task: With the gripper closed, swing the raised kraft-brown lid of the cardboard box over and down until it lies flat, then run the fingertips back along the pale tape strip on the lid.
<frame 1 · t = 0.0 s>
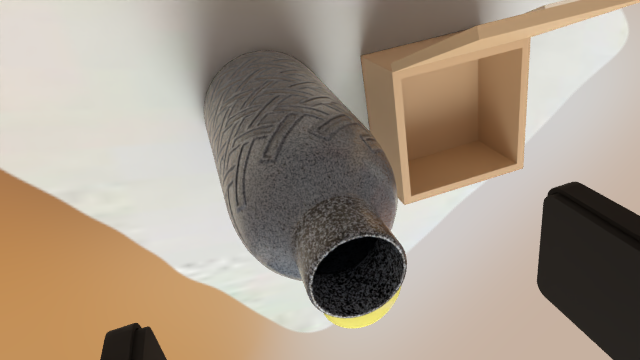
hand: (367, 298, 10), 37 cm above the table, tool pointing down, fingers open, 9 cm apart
lid: (510, 31, 33), point 15 cm above the table, hinge at 110.0°
toy: (326, 223, 54), on the table
box: (425, 102, 50), on the table
vase: (264, 108, 46), on the table
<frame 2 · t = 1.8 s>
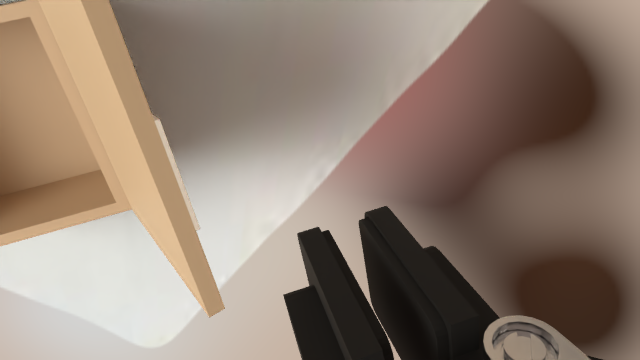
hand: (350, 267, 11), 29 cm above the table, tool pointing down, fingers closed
lid: (125, 140, 23), point 15 cm above the table, hinge at 110.0°
box: (14, 108, 34), on the table
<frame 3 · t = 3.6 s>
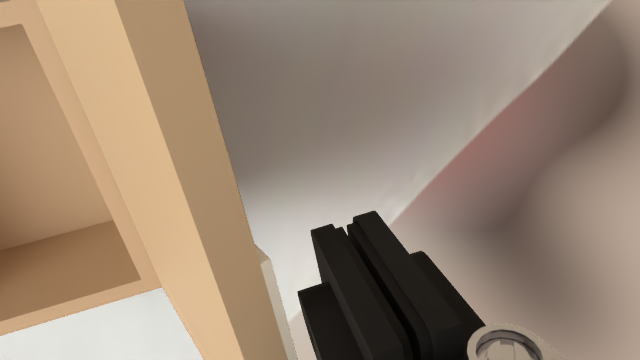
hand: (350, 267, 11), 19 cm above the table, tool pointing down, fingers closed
lid: (168, 227, 14), point 15 cm above the table, hinge at 108.9°, touching gripper
box: (3, 142, 25), on the table
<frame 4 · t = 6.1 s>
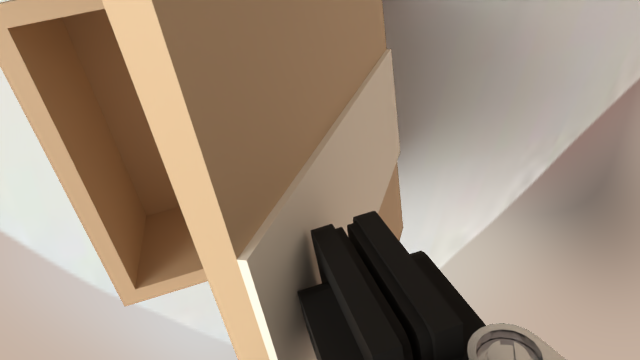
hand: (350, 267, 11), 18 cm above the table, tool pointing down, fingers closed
lid: (344, 180, 15), point 14 cm above the table, hinge at 56.0°, touching gripper
box: (215, 94, 26), on the table
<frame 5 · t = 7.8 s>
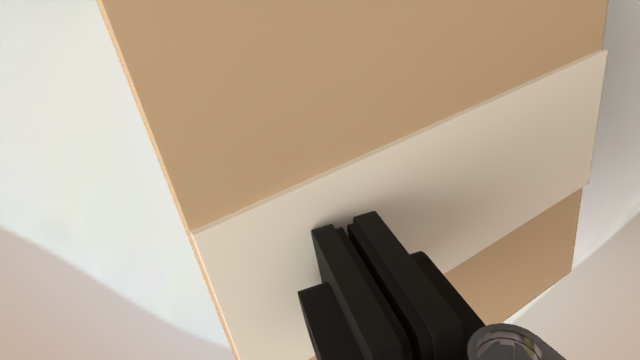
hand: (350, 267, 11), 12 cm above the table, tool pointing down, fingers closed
lid: (439, 194, 13), point 11 cm above the table, hinge at 16.0°, touching gripper
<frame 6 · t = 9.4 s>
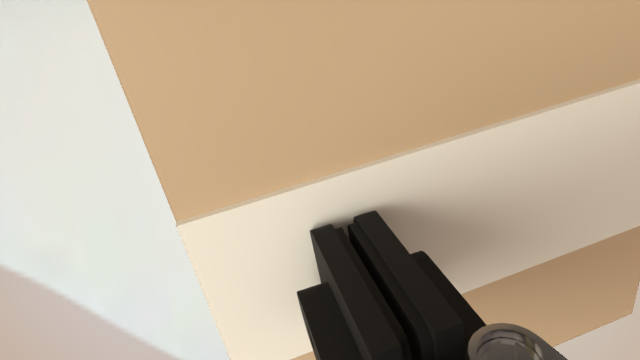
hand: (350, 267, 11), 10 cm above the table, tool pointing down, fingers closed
lid: (458, 212, 12), point 9 cm above the table, hinge at 2.0°, touching gripper
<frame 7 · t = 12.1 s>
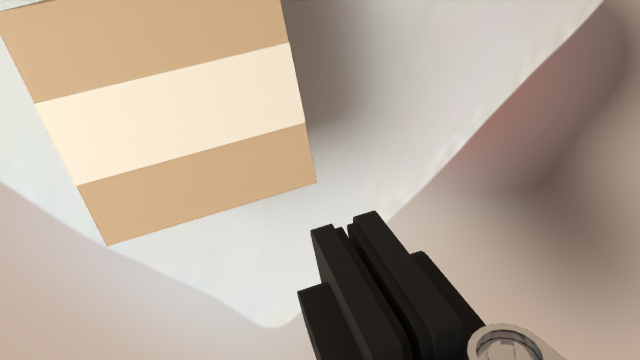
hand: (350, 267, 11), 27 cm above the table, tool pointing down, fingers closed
lid: (182, 111, 26), point 9 cm above the table, hinge at 0.9°
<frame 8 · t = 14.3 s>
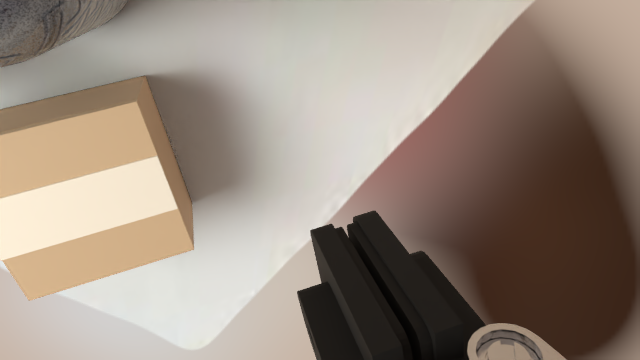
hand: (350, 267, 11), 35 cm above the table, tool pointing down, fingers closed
lid: (80, 205, 35), point 9 cm above the table, hinge at 0.9°
box: (98, 162, 43), on the table
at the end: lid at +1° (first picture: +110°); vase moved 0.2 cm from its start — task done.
